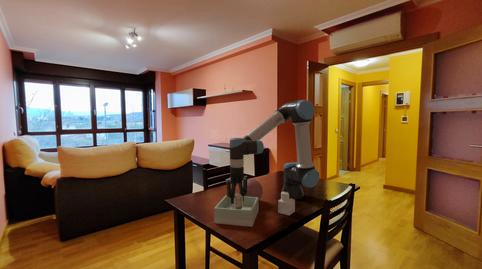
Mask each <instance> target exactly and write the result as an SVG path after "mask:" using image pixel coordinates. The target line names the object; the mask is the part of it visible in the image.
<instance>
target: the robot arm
mask: <svg viewBox="0 0 482 269" xmlns="http://www.w3.org/2000/svg"><path fill="white" fill-rule="evenodd" d="M315 112H316V111H315V107H314V104H313V103H312V102H311V101H310V100H307V99H300V100H293V101H288V102H286V103H283V105H281V106H280V107H278V108H277V109H275V111H273V114H272V115H270V116H269V117H268V118H267V119H265V120H264V121H263V122H261V123H260V124H259V125H258V126H256V127H255V128H253V129H252V130H251V131H249V132H248V134H246V135H245V136H243V137H231V138H230V139H229V146H228V148H229V173H230V174H229V178H226V179H225V183H226V193H227V194H226V195H227V196H228V197H229V198H231V204H232V209H236V198H234V196H235V193H236V189H237V187H236V186H237V185H238V192H239V191H240V194H241V208H243V201H244V196H245V194H247V180H248V179H249V177H248V176H247V175H245V174H244V173H245V167H244V165H245V164H244V162H245V161H244V159H245V158H244V156H247V155H258V154H262V153H264V151H265V150H264V149H265V146H264V143H263V141H262V139H263V138H264V137H265V136H267V135H268V134H270V132H272V131H273V130H274V129H276V128H277V127H278V126H279V125H281V124H284V123H286V122H288V121H291V124H292V125H294V133H295V143H296V144H295V145H296V156H297V161H296V162H294V161H293V162H292V161H291V162H286V163H284V164H283V186H282V188H281V192H282V191H290V192H291V193H292V199H294V200H299V199H303V198H304V197H305V195H304V194H305V193H304V190H303V187H306V188H313V187H315V186H316V185H317V184H318V183H319V180H320V177H321V176H320V172H319V171H318V170H317V169H316V165H315V163H314V162H313V160H312V149H311V148H312V145H311V134H310V124H311V123H312V119H313V118H314V115H315ZM242 182H243V183H242ZM242 184H243V185H242ZM302 186H303V187H302Z"/></svg>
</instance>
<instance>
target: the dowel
mask: <svg viewBox="0 0 482 269" xmlns="http://www.w3.org/2000/svg"><path fill="white" fill-rule="evenodd" d="M234 198H236V209H241V194H239V193H238V192H235V196H234Z"/></svg>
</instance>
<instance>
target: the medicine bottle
mask: <svg viewBox="0 0 482 269" xmlns="http://www.w3.org/2000/svg"><path fill="white" fill-rule="evenodd" d="M295 210H296V199H292V193H291V192H290V191H282V190H281V192H280V199H278V200H277V213H278V214H281V215H286V216H291V215H292V214H293V213H295V212H296V211H295Z"/></svg>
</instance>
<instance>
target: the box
mask: <svg viewBox="0 0 482 269" xmlns="http://www.w3.org/2000/svg"><path fill="white" fill-rule="evenodd" d="M259 203H260V202H259V201H258V197H245V196H244V201H243V208H241V209H232V204H231V198H229V197H228V196H227V194H226V195H224V196H223V197H222V198H221V200H220V201H219V202H218V203H217V204H216V205H215V207H213V216H214V217H213V218H214V224H219V225H228V226H229V225H231V226H240V227H251V228H252V227H253V226H254V224H255V220H256V219H257V215H258V213H259V211H260V210H259V209H260V208H259Z"/></svg>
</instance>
